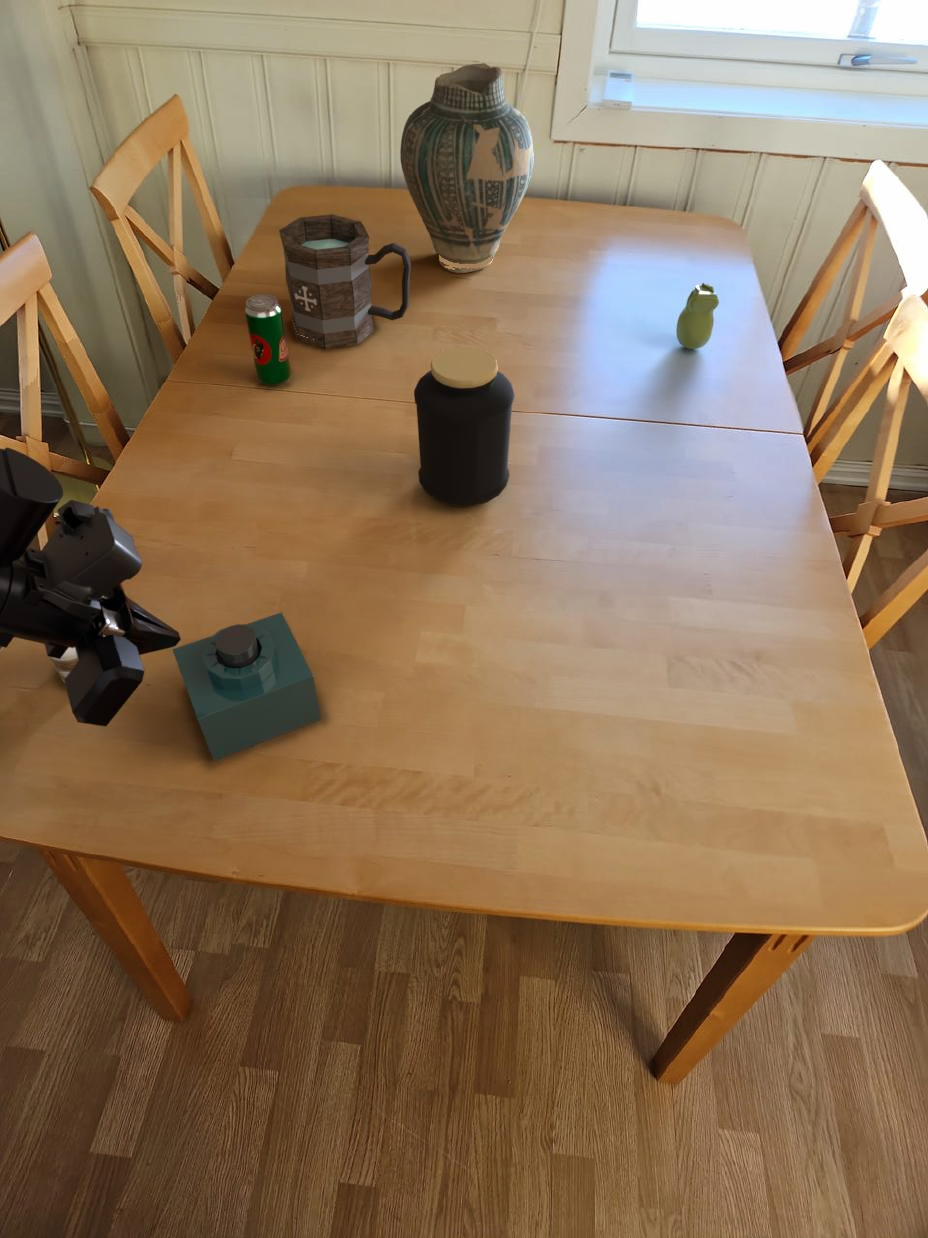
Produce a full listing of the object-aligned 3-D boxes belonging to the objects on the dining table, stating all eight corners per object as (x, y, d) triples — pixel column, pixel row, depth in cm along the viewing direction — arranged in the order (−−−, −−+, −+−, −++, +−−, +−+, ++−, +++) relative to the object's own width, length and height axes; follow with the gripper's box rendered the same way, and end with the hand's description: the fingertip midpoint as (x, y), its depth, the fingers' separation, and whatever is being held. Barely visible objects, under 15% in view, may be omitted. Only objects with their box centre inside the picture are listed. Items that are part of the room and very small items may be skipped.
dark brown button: (226, 673, 75) (221, 659, 74) (215, 646, 77) (210, 632, 76) (264, 660, 76) (260, 646, 75) (252, 633, 78) (248, 619, 77)
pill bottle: (63, 693, 84) (36, 645, 78) (60, 662, 86) (33, 613, 81) (108, 681, 85) (84, 633, 79) (104, 650, 87) (80, 601, 82)
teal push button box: (213, 761, 79) (193, 707, 72) (188, 693, 84) (167, 637, 77) (321, 719, 82) (311, 664, 76) (291, 656, 88) (279, 599, 81)
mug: (282, 346, 128) (267, 250, 117) (300, 303, 137) (288, 211, 126) (406, 354, 128) (404, 259, 117) (417, 311, 137) (415, 219, 126)
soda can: (292, 386, 121) (280, 309, 112) (257, 388, 121) (242, 311, 112) (291, 367, 125) (280, 291, 116) (257, 369, 124) (243, 293, 115)
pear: (701, 337, 134) (717, 277, 126) (712, 354, 130) (729, 294, 123) (668, 338, 133) (682, 278, 126) (678, 355, 130) (693, 295, 122)
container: (407, 463, 110) (403, 340, 96) (493, 451, 112) (501, 330, 99) (427, 523, 102) (425, 398, 89) (519, 509, 104) (531, 385, 91)
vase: (541, 248, 154) (560, 60, 131) (499, 301, 140) (512, 102, 117) (432, 225, 159) (432, 41, 136) (382, 274, 145) (372, 78, 123)
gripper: (72, 599, 52) (264, 650, 64) (27, 438, 63) (199, 508, 75) (-12, 714, 56) (186, 743, 67) (-41, 543, 66) (134, 594, 78)
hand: (177, 639), depth 72 cm, fingers closed
